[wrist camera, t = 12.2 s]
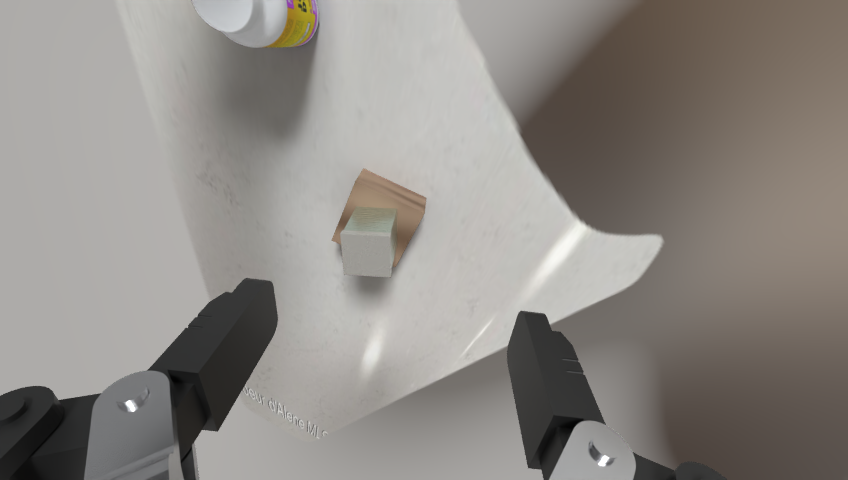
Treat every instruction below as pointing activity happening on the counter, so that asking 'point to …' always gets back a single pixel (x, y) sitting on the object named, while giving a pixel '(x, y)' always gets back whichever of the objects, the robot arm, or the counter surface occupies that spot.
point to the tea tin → (369, 242)
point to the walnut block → (385, 206)
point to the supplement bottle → (262, 20)
